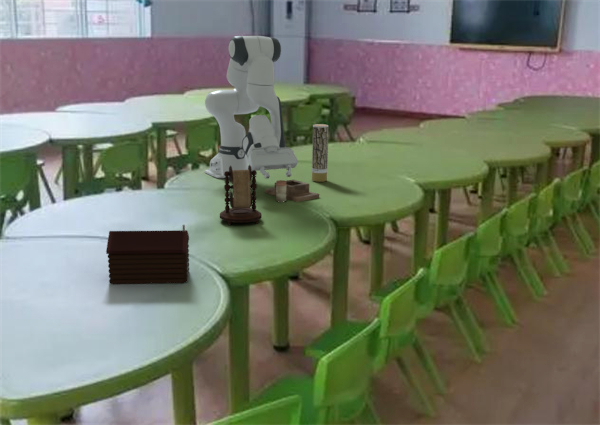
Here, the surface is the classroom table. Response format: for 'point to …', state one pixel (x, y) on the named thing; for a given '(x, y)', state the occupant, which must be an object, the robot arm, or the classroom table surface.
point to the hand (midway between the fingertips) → (278, 176)
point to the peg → (280, 190)
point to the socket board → (295, 191)
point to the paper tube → (320, 152)
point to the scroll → (240, 197)
